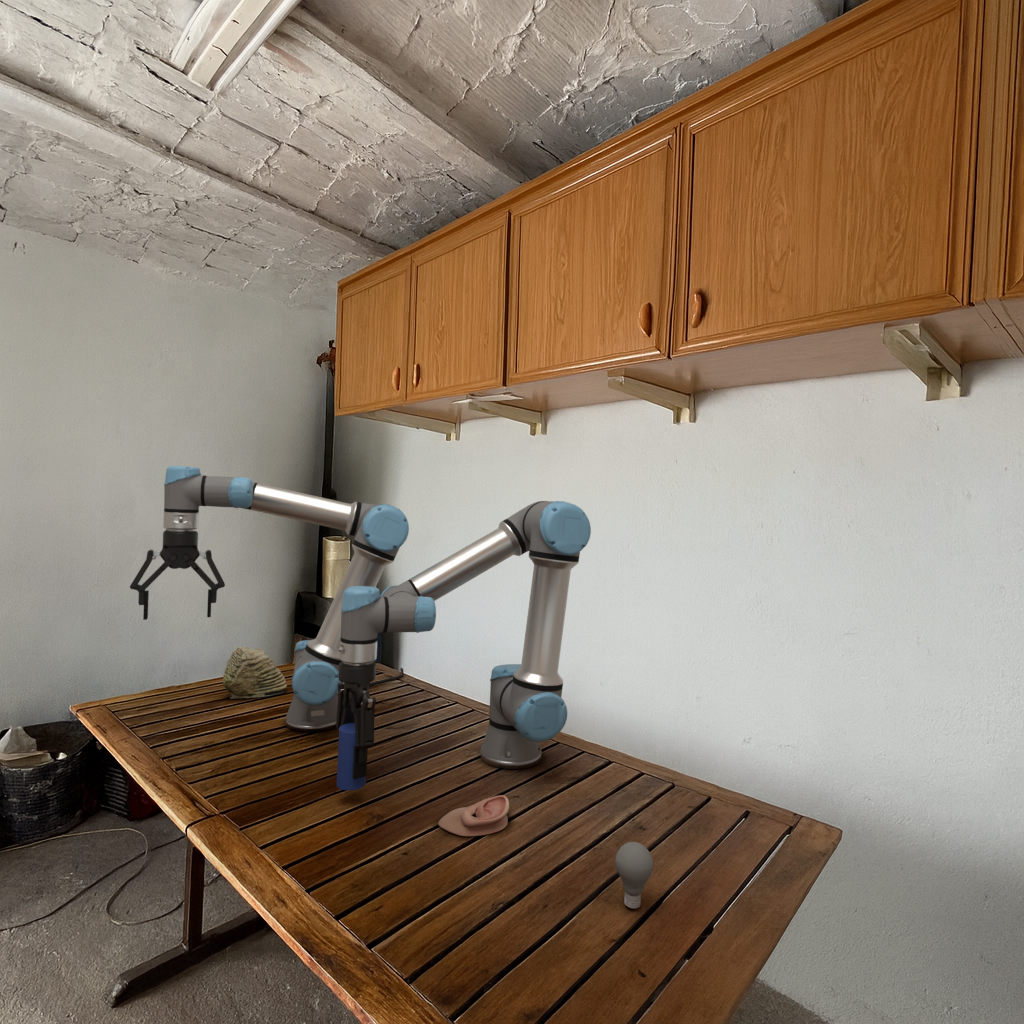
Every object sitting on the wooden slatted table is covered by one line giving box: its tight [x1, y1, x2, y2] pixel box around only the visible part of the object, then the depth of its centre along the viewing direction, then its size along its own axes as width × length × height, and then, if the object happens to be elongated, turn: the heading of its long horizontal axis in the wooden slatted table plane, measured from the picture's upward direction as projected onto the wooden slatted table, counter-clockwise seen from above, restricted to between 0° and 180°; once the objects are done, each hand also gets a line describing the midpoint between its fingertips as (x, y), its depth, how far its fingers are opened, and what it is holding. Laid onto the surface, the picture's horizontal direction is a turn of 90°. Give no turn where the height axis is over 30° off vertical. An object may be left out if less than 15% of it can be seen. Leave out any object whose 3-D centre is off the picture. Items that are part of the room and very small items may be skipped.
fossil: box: [222, 646, 288, 699], centre depth 198 cm, size 9×18×15 cm, turn 132°
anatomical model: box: [437, 794, 510, 837], centre depth 126 cm, size 13×4×12 cm
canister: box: [336, 722, 367, 792], centre depth 132 cm, size 6×6×12 cm
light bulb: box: [614, 841, 654, 909], centre depth 101 cm, size 6×6×10 cm
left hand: (177, 617), depth 154 cm, fingers open, 13 cm apart
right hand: (352, 771), depth 132 cm, fingers closed on canister, 6 cm apart
